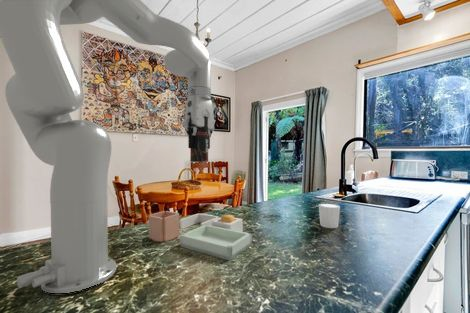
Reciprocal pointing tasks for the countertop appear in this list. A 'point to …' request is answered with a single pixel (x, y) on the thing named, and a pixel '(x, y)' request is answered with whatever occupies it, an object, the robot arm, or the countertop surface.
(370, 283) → the countertop surface
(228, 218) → the button
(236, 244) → the trough
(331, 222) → the white tapered cylinder
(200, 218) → the white recessed tray
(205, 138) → the deodorant
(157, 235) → the cup
